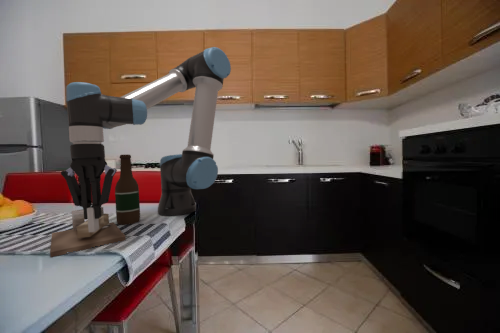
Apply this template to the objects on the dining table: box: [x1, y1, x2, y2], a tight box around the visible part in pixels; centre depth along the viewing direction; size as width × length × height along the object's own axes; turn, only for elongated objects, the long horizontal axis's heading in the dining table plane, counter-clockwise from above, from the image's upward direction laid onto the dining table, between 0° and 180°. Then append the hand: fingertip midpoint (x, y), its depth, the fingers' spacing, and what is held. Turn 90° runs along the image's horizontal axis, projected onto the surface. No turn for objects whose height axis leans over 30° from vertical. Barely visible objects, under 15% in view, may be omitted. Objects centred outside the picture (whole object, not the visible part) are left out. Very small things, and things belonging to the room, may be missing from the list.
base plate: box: [49, 221, 126, 258], centre depth 68 cm, size 16×19×1 cm
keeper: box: [71, 208, 110, 231], centre depth 74 cm, size 10×7×6 cm
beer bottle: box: [114, 154, 141, 226], centre depth 84 cm, size 8×8×24 cm
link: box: [77, 206, 110, 238], centre depth 70 cm, size 14×4×5 cm, turn 14°
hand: (94, 230), depth 64 cm, fingers closed
